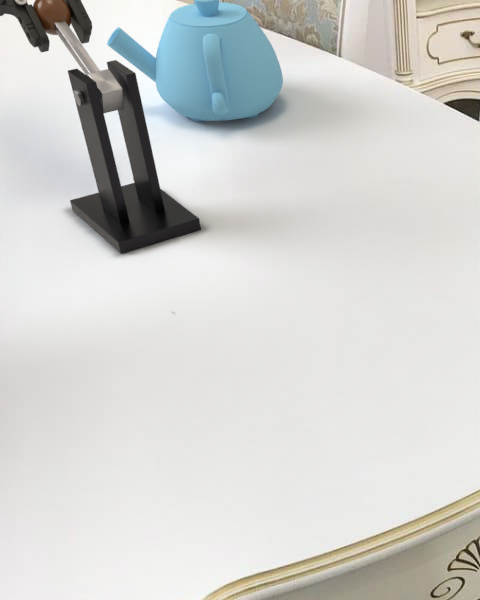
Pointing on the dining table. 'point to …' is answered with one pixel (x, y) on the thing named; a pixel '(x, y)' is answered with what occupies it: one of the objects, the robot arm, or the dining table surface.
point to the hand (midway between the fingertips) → (66, 42)
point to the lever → (79, 51)
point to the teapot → (209, 62)
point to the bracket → (111, 195)
